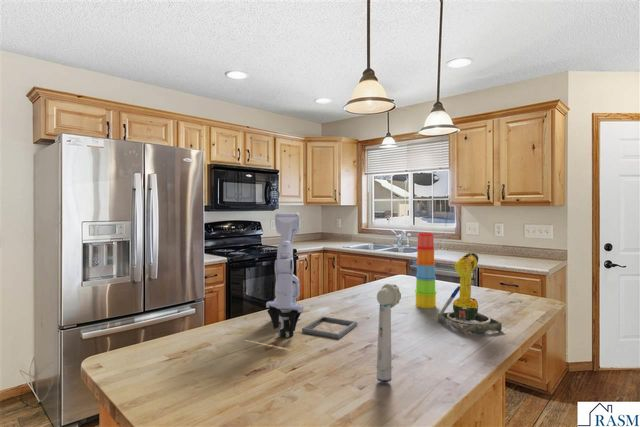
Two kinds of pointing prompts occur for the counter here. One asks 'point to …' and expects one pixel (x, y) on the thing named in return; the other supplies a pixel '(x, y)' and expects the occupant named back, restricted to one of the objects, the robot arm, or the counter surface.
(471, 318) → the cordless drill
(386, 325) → the toothbrush head
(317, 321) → the frame
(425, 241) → the stacking cups
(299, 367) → the counter surface
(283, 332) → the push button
